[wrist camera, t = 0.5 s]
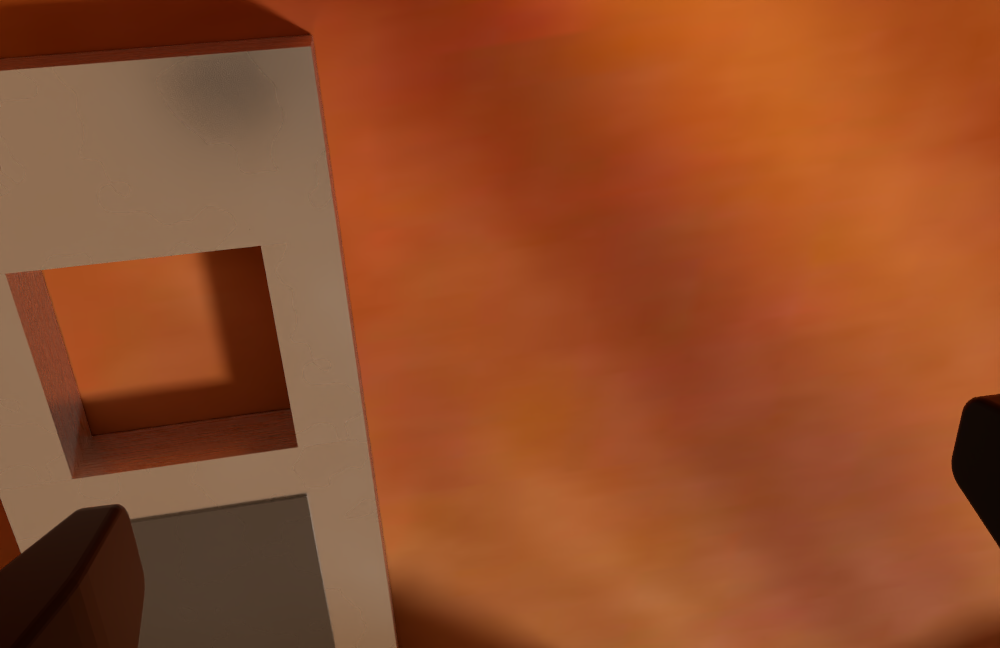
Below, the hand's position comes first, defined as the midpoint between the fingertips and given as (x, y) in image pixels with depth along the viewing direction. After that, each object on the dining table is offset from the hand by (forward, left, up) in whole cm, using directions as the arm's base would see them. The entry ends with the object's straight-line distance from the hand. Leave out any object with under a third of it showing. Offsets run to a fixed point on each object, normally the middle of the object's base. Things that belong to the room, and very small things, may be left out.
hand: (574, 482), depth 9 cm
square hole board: (-9, +7, -14) cm, 18 cm away
